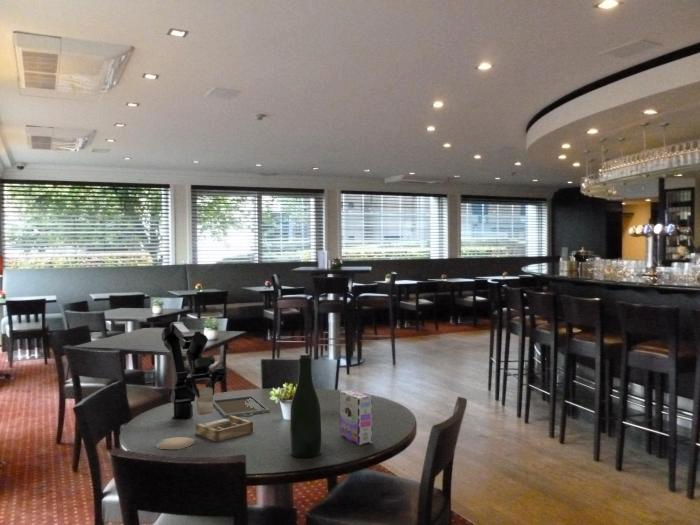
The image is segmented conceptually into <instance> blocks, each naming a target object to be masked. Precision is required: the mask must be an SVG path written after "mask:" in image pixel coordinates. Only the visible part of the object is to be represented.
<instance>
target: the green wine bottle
mask: <svg viewBox="0 0 700 525" xmlns="http://www.w3.org/2000/svg"><path fill="white" fill-rule="evenodd" d="M299 356H300V357H299V358H298V378H297V379H298V380H297V384H296V388H295V391H294V393H293V396H292V400H291V404H290V412H289V413H290V415H289V416H290V418H289V420H290V422H289V428H290V429H289V444H290V445H289V452H290V454H291V455H292V457H293V456H294V457H296V458H303V459H304V458H313V457H317V456H319V455H321V453H322V449H323V448H322V445H323V444H322V440H323V439H322V435H323V434H322V408H321V401H320V398H319V395H318V393H317V390H316V387H315V384H314V379H313V370H312V369H313V368H312V364H313V359H312V357H311V354H310V353H301V354H300V355H299Z"/></svg>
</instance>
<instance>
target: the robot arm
mask: <svg viewBox="0 0 700 525" xmlns="http://www.w3.org/2000/svg"><path fill="white" fill-rule="evenodd" d="M161 341H162V342H163V344H164V347H165V348H166V349H167V350H168V351H169V355H170V359H171V366H172V368H173V374H174V379H173V384H174V385H173V388H172V391H171V393H170V394H171V395H170V398H169V399H170V402H171V403H172V404H173V416H172V418H171V419H172V420H175V419H176V420H177V419H179V420H181V419H182V420H183V419H184V420H188V419H189V418H191V417H192V416H193V415H194V412H193V411H194V409H193V408H194V406H193V404H192V402H193V403H194V402H195V401H196V398H197V397H198V398H199V397H200V395H199V391H198V389H199V388H198V386H197V383H196V381H199V380H208V383H207V386H208V387H211V388H213V396H214V395H215V386H216V384H217V383H219V382H223V381H225V378H226V376H227V374H228V371H227V369H226V368H225V367H214V370H213V371H212V372H208V371H210V366H212V365H214V364H215V363H216V361H215V360H216V359H215V356H214V355H213V354H211V355H210V354H209V355H208V356H203V353H204V352H205V349H206V346H207V343H208V337H207V335H206V334H204V333H201V331H199V330H198V331H194V332H193V331H190V330H189V329H188V328H187V326H185V324H184V322H183V321H174V322H170V324H169V325H168V326H166V327H165V328H163V330H162V332H161ZM182 350H186V351H185V356H186V357H185V359H186V360H187V363H188V366H189V367H188V371H189V372H190V373H188V371H186V366H185V361H184V356H183V353H182Z"/></svg>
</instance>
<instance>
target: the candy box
mask: <svg viewBox="0 0 700 525" xmlns="http://www.w3.org/2000/svg"><path fill="white" fill-rule="evenodd" d="M339 433H340V434H339V436H341V437H343V438H344V439H346V440H348V441H350V442H352V443H354V444H356V445H358V446H361V445H362V446H363V445H367V444H372V443H373V397H372V396H371V395H368V394H366V393H362V392H361V391H357V390H355V389H352V388H351V389H345V390H344V389H343V390H339Z"/></svg>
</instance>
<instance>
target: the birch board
mask: <svg viewBox="0 0 700 525" xmlns="http://www.w3.org/2000/svg"><path fill="white" fill-rule="evenodd" d="M198 391H199V395H200V397H199V398H198V397H197V396H196V413H197V415H199V416H203V415H210V414H214V406H213V400H214V395H213V388H211V387H209V386H208V387H200V388H198Z"/></svg>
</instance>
